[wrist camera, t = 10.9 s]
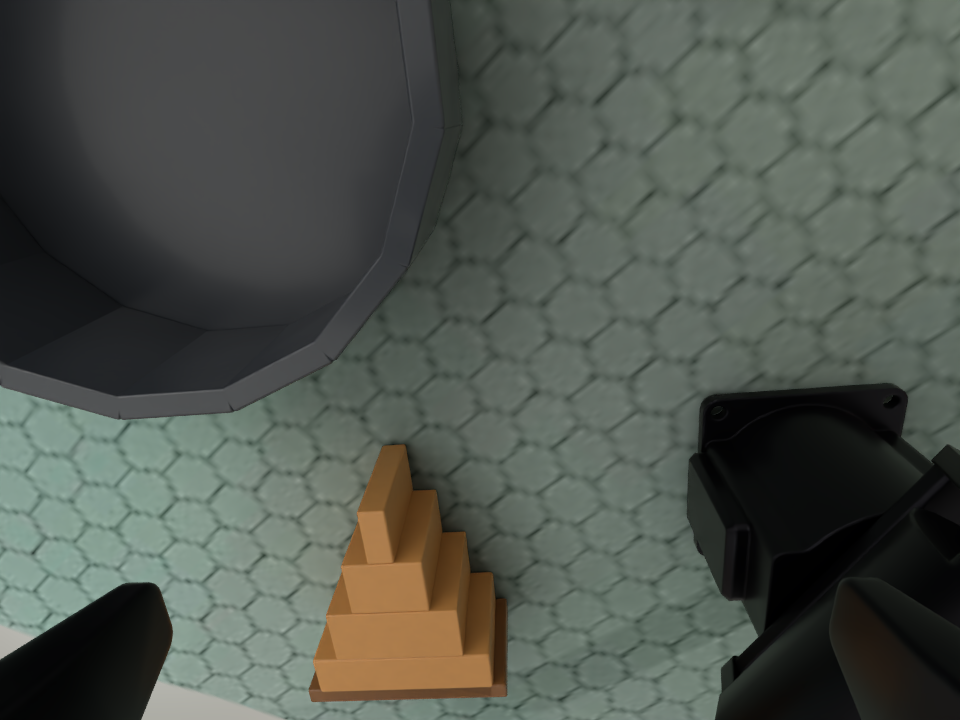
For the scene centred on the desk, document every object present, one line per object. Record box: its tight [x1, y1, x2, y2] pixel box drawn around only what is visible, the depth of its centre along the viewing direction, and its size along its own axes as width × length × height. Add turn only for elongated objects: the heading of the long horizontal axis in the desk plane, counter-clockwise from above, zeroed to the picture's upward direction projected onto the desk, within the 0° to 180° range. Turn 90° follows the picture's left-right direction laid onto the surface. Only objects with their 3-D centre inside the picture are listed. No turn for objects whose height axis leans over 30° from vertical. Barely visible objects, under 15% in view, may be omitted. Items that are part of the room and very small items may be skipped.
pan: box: [0, 0, 462, 420], centre depth 15 cm, size 15×15×6 cm
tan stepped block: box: [309, 444, 508, 702], centre depth 21 cm, size 8×7×4 cm
